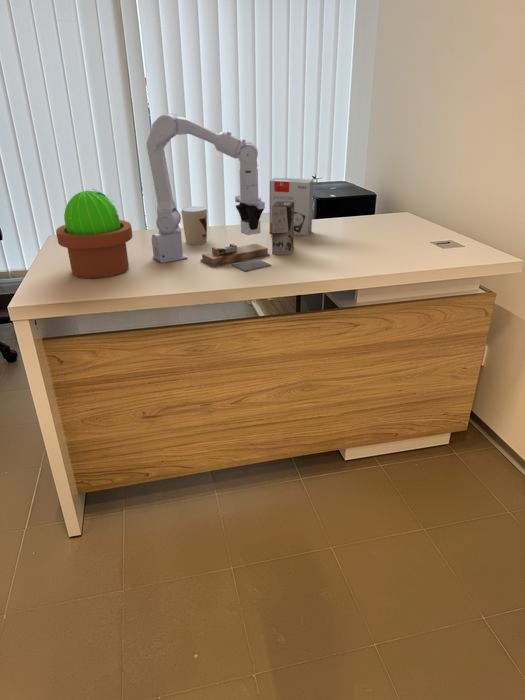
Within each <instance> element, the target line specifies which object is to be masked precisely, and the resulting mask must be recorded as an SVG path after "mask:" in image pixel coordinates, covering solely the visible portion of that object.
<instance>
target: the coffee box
mask: <svg viewBox="0 0 525 700" xmlns="http://www.w3.org/2000/svg"><path fill="white" fill-rule="evenodd" d="M271 234H272V235H271V236H272V237H271V254H273V255H274V254H275V255H287V256H289V255H291V253H292V251H293V249H294V246H295V245H294V240H295V238H294V237H295V235H294V202H290V201H283V202H276V203H275V204H274V205H273V206H272V233H271Z"/></svg>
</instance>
